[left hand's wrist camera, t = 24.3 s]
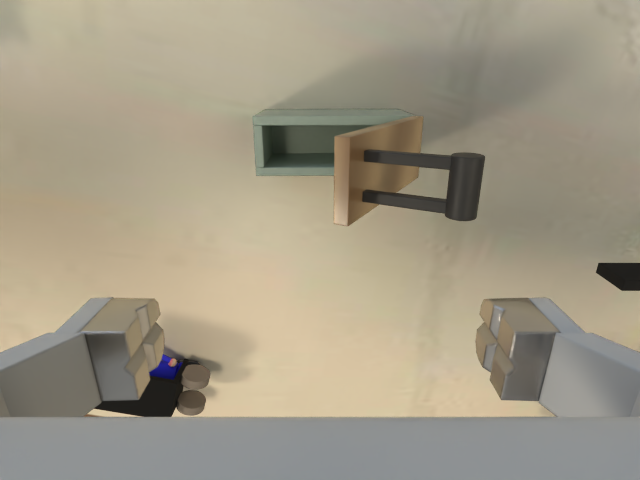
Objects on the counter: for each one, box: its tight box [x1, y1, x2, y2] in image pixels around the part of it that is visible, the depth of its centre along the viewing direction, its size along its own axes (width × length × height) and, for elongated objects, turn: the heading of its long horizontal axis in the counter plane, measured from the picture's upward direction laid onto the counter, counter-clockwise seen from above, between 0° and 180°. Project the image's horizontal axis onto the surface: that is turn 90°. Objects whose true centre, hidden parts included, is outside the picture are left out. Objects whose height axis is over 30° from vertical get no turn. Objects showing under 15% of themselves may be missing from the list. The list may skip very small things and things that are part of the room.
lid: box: [334, 116, 485, 226], centre depth 29 cm, size 15×5×8 cm
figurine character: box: [94, 354, 210, 417], centre depth 54 cm, size 7×8×15 cm
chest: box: [253, 109, 415, 176], centre depth 42 cm, size 15×5×9 cm, turn 90°
